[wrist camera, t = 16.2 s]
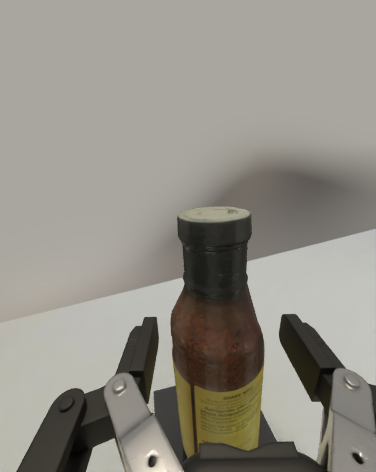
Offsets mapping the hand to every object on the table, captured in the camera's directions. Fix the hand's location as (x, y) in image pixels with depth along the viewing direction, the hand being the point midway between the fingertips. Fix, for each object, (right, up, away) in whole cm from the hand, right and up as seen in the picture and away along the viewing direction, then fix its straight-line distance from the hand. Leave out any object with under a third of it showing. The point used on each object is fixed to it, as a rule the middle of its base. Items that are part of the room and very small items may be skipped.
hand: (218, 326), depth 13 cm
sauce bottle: (0, -12, +4) cm, 13 cm away
